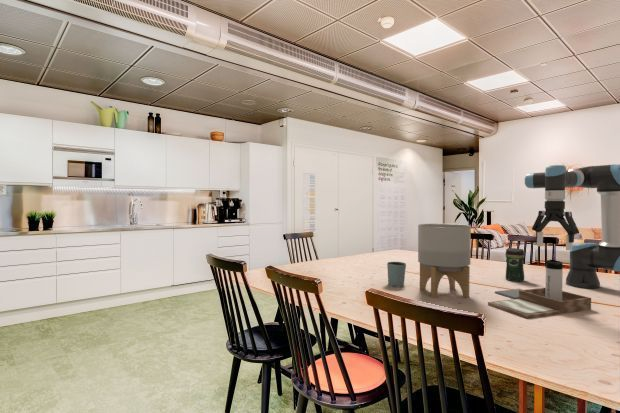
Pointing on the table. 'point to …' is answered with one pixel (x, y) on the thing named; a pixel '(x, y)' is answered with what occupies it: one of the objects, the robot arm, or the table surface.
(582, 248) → the robot arm
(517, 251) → the coffee jar
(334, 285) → the table surface
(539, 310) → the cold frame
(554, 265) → the travel mug
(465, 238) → the planter
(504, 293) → the potting mat
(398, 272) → the blue-grey cup
